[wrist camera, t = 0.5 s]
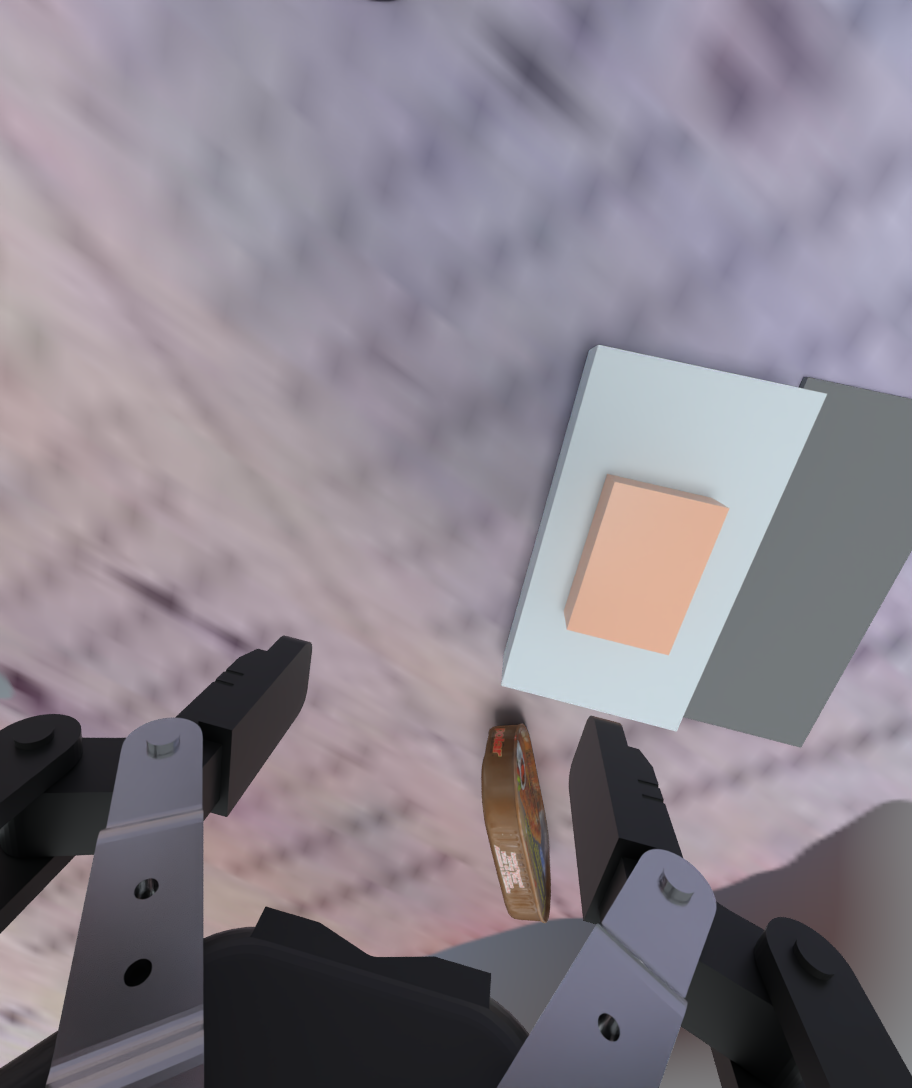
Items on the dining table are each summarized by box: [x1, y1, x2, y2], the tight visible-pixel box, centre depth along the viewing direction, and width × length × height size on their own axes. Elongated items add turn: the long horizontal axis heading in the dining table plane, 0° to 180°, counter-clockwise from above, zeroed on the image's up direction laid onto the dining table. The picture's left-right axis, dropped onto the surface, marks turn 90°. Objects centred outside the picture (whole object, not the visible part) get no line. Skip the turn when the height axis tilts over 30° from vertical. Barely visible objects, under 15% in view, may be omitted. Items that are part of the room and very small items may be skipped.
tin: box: [481, 723, 551, 923], centre depth 36 cm, size 15×3×8 cm, turn 12°
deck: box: [501, 345, 827, 731], centre depth 31 cm, size 22×12×4 cm, turn 168°
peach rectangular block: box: [564, 474, 729, 655], centre depth 28 cm, size 9×6×2 cm, turn 168°
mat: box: [683, 377, 912, 747], centre depth 32 cm, size 24×10×1 cm, turn 168°
